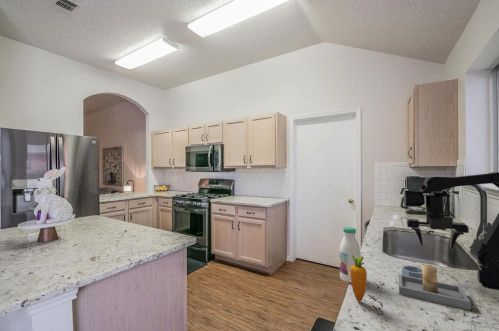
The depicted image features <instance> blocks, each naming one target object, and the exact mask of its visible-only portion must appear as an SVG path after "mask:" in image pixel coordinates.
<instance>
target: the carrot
mask: <svg viewBox="0 0 499 331" xmlns="http://www.w3.org/2000/svg"><path fill="white" fill-rule="evenodd" d="M351 256H352V258H353V260H354V262H355V265H353V266H351V267H350V274H351V283H350V284H351V288H352V291H353V294H354V297H355V299H356V301H357V302H358V303H361V302H362V301H363V299H364V297H365V294H366V289H367V281H368V280H367V277H368V276H367V273H368V272H367V270H366V267H365V266H363V265H364V264H365V262H363V260H364V258H365V257H364V256H363V255H361V256H359V258H357V257H356V258H355V257H354V255H351Z"/></svg>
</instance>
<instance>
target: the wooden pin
mask: <svg viewBox="0 0 499 331" xmlns="http://www.w3.org/2000/svg"><path fill="white" fill-rule="evenodd" d="M421 269H422V277H423V290H424V291H427V292H432V293H436V294H437V293H438V286H437V282H438V268H437V267H436V266H432V265H429V264H422V265H421Z"/></svg>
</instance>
